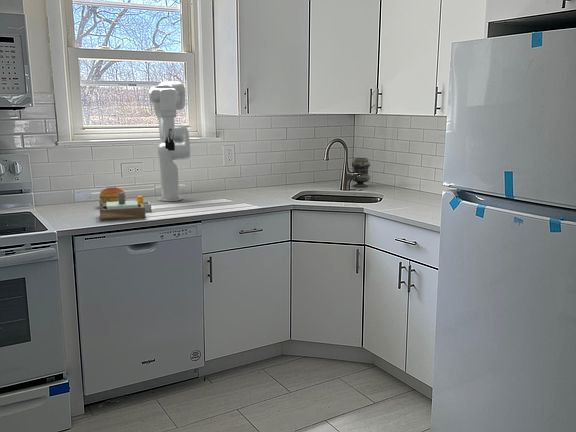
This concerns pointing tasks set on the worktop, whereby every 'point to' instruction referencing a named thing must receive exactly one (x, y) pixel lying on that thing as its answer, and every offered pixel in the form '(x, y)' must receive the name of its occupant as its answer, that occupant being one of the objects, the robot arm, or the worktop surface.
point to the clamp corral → (147, 206)
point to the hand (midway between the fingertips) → (170, 149)
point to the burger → (110, 195)
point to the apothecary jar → (361, 171)
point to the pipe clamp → (139, 199)
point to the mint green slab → (121, 203)
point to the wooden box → (121, 213)
